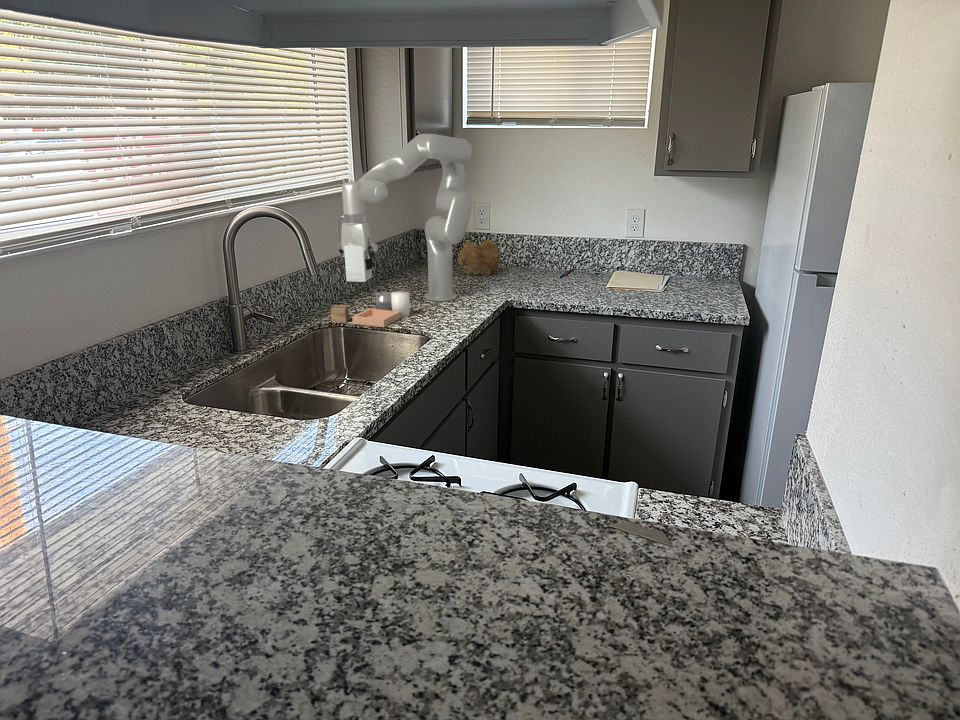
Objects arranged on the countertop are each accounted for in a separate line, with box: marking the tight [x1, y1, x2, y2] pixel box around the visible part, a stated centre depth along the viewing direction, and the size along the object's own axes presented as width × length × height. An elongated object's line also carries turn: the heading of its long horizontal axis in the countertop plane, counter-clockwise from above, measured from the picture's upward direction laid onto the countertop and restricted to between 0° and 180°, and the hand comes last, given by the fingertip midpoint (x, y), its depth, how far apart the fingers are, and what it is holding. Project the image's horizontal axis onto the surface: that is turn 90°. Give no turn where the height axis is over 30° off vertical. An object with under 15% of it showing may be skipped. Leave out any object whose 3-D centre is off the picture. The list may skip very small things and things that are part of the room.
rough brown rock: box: [457, 239, 501, 277], centre depth 316 cm, size 23×17×15 cm
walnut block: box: [330, 304, 351, 324], centre depth 240 cm, size 5×5×5 cm
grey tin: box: [375, 291, 392, 311], centre depth 254 cm, size 6×6×6 cm
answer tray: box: [351, 307, 401, 328], centre depth 240 cm, size 12×12×2 cm
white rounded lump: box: [390, 290, 411, 318], centre depth 247 cm, size 6×6×8 cm
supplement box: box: [344, 246, 373, 283], centre depth 247 cm, size 7×7×13 cm
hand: (358, 268), depth 247 cm, fingers closed on supplement box, 8 cm apart
